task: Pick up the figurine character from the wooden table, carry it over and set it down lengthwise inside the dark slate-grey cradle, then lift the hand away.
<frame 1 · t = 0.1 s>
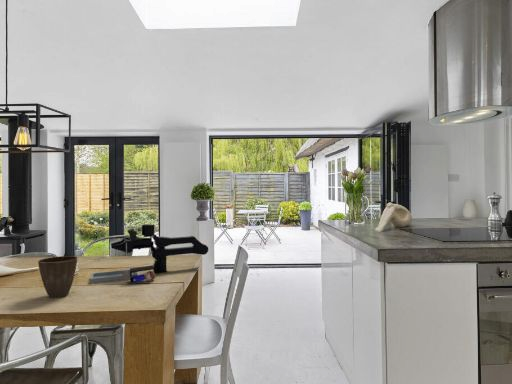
hand: (111, 245, 178), 17 cm above the table, tool horizontal, fingers open, 9 cm apart
plant pot: (58, 295, 147), on the table
cradle: (114, 278, 175), on the table
figurine character: (139, 282, 167), on the table
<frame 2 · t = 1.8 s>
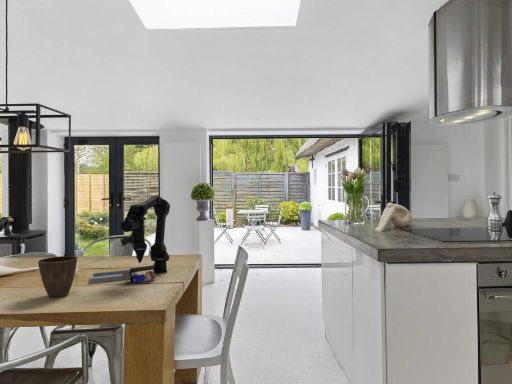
hand: (138, 260, 167), 11 cm above the table, tool pointing down, fingers open, 9 cm apart
nothing on the table moved.
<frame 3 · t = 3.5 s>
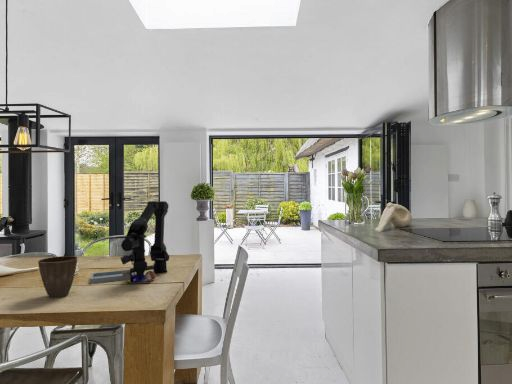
hand: (139, 279, 167), 2 cm above the table, tool pointing down, fingers closed on figurine character, 7 cm apart
figurine character: (139, 282, 167), on the table, touching gripper
everything else where it was.
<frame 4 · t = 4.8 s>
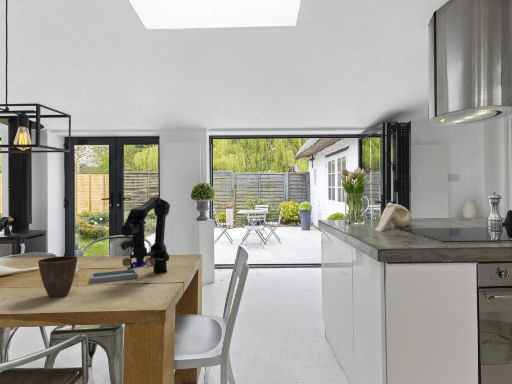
hand: (138, 265, 167), 9 cm above the table, tool pointing down, fingers closed on figurine character, 7 cm apart
figurine character: (139, 268, 167), point 7 cm above the table, touching gripper
everything else where it was.
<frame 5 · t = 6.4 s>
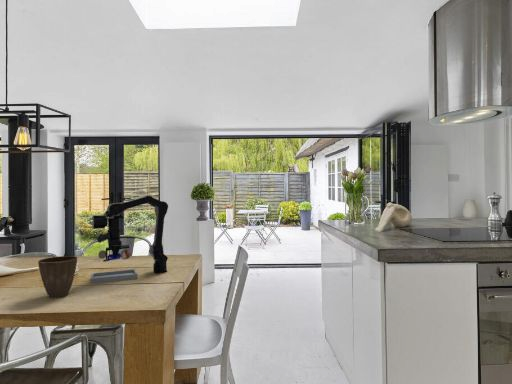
hand: (114, 257, 175), 11 cm above the table, tool pointing down, fingers closed on figurine character, 7 cm apart
figurine character: (114, 260, 175), point 9 cm above the table, touching gripper
everything else where it was.
when the fingers open (4 cm above the table, at t = 8.7 s): figurine character drops 1 cm, resting on cradle.
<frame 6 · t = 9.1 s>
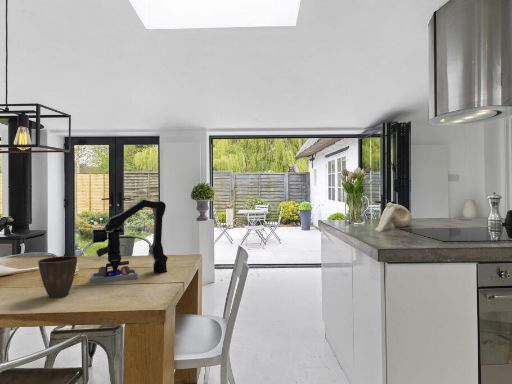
hand: (114, 270, 175), 4 cm above the table, tool pointing down, fingers open, 9 cm apart
figurine character: (114, 277, 175), point 1 cm above the table, touching cradle
everything else where it was.
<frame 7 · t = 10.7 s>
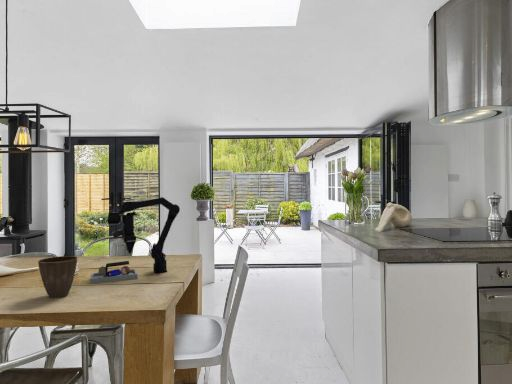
hand: (129, 252, 185), 12 cm above the table, tool pointing down, fingers open, 9 cm apart
nothing on the table moved.
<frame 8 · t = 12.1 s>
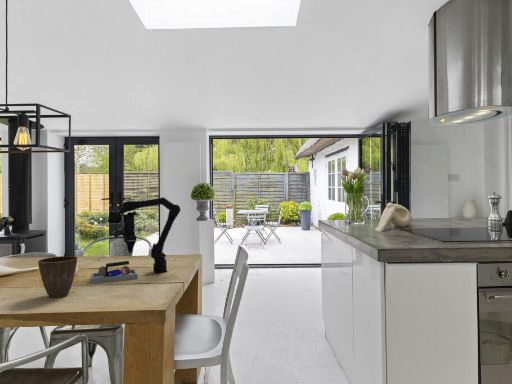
hand: (129, 251, 186), 12 cm above the table, tool pointing down, fingers open, 9 cm apart
nothing on the table moved.
at the end: figurine character inside the target area on the cradle (0.1 cm from its centre), point 0.6 cm above the cradle's base; figurine character touching cradle; the gripper is holding nothing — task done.
